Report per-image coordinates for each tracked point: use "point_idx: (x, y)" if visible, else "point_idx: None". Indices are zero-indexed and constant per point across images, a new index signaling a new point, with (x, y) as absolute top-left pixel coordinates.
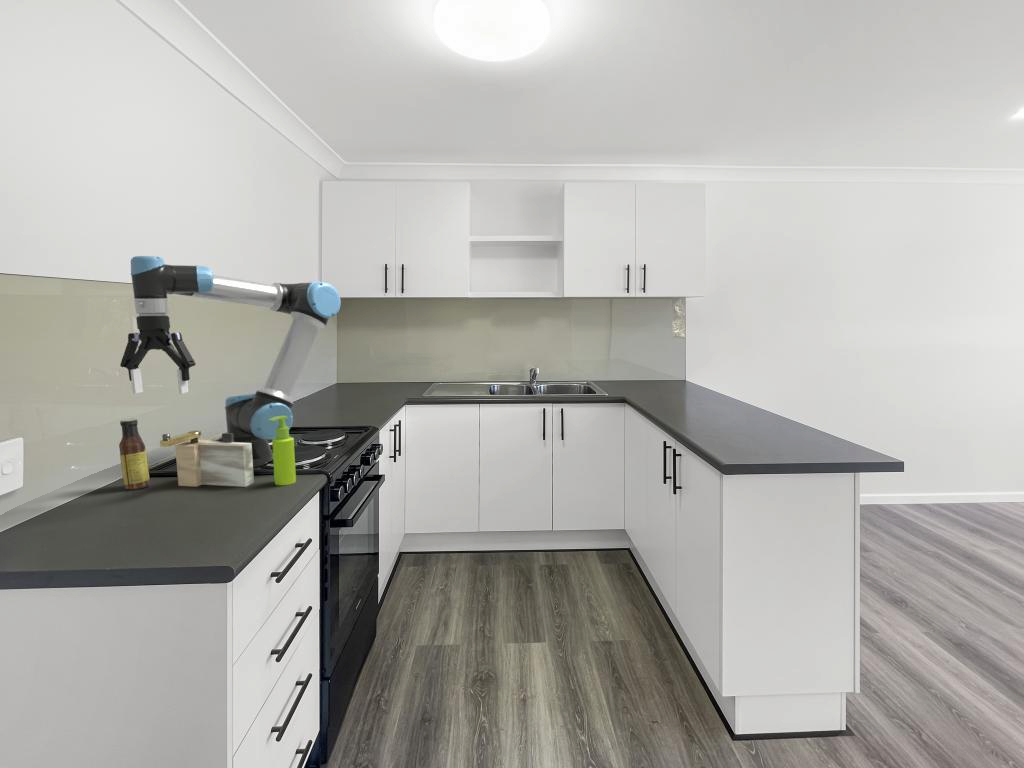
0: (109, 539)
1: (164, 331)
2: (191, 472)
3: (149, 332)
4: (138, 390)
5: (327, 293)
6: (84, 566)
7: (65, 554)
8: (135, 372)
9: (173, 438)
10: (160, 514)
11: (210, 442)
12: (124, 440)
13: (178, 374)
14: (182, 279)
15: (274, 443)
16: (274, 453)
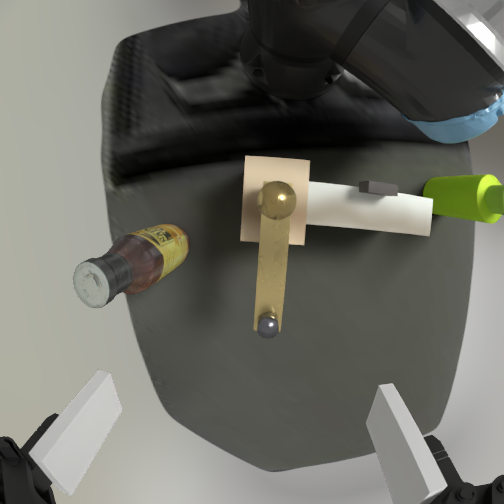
0: (306, 428)
1: None
2: None
3: None
4: (112, 402)
5: None
6: (324, 461)
7: (287, 452)
8: (70, 474)
9: (275, 300)
10: (317, 366)
11: (325, 195)
12: (123, 291)
13: (399, 498)
14: None
15: (481, 220)
16: (466, 216)
